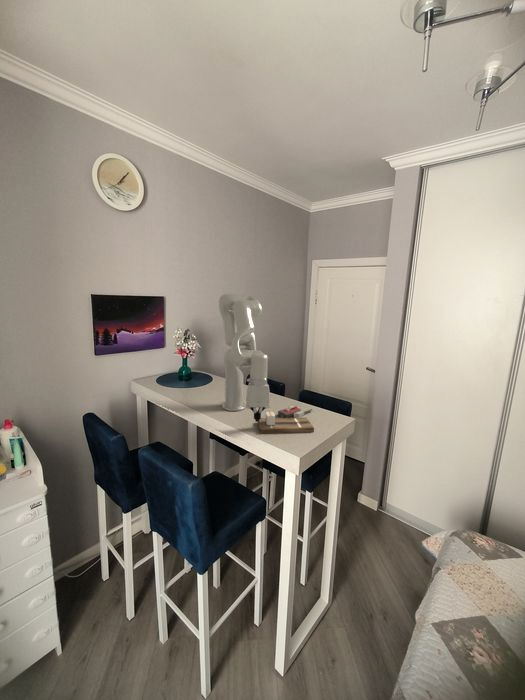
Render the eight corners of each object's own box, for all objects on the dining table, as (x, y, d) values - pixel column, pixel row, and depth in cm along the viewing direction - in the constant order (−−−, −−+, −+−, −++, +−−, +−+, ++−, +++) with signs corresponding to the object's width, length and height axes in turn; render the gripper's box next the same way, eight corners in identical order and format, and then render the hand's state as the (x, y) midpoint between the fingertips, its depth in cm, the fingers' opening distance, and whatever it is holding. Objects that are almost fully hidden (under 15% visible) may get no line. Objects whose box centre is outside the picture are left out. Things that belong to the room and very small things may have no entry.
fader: (265, 420, 143) (265, 411, 142) (272, 420, 143) (273, 411, 142) (266, 425, 138) (267, 416, 137) (274, 424, 138) (275, 415, 138)
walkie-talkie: (287, 422, 149) (313, 412, 162) (288, 413, 148) (314, 404, 161) (275, 416, 155) (300, 408, 168) (275, 408, 154) (301, 400, 168)
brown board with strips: (257, 422, 146) (257, 418, 146) (306, 421, 150) (306, 417, 149) (260, 433, 134) (260, 429, 134) (313, 432, 138) (314, 427, 137)
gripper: (242, 383, 131) (241, 424, 135) (276, 383, 134) (274, 423, 137) (241, 379, 139) (240, 417, 142) (273, 379, 141) (271, 417, 144)
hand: (257, 420), depth 139 cm, fingers closed
